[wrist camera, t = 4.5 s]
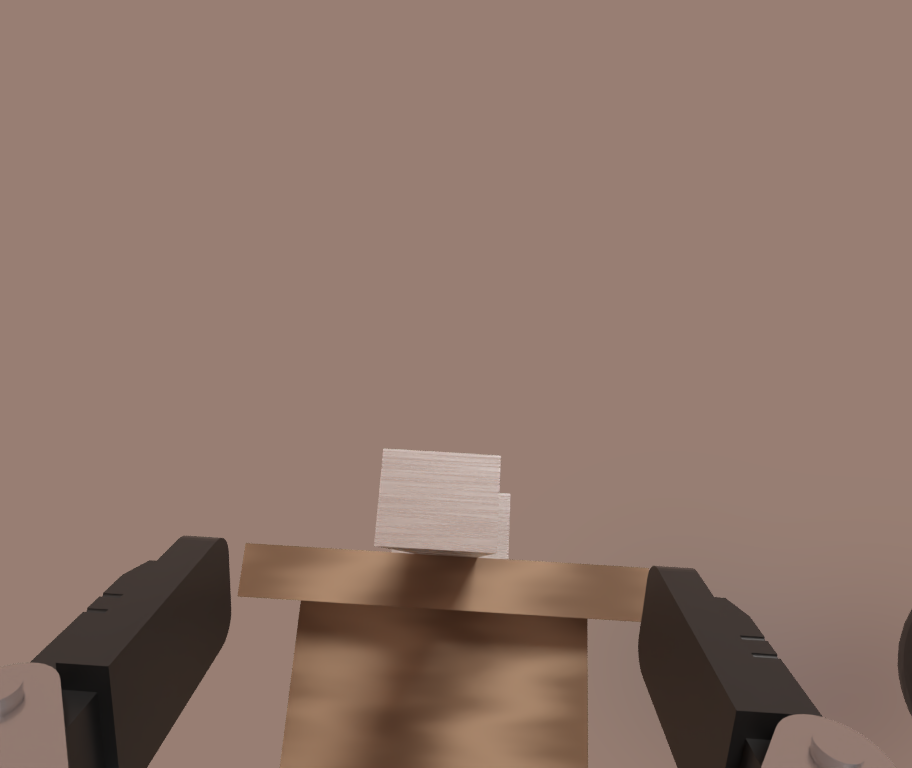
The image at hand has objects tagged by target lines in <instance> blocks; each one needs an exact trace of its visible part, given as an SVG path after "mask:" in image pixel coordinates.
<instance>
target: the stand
mask: <svg viewBox="0 0 912 768" xmlns="http://www.w3.org/2000/svg"><path fill="white" fill-rule="evenodd" d="M648 573H649V568H638V567H622V566H606V565H589V564H573V563H557V562H540V561H525V560H509V559H493V558H476V557H460V556H444V555H428V554H412V553H395V552H379V551H363V550H346V549H331V548H314V547H298V546H282V545H266V544H250V543H246V545H245V551H244V558H243V564H242V571H241V577H240V584H239V591H238V596H240V597H256V598H271V599H287V600H301V604H300V612H299V620H298V628H297V637H296V644H295V653H294V660H293V668H292V676H291V683H290V691H289V700H288V707H287V715H286V724H285V731H284V739H283V747H282V755H281V763H280V768H588V695H587V694H588V688H587V687H588V686H587V685H588V683H587V681H588V679H587V677H588V676H587V675H588V674H587V672H588V669H587V619H604V620H619V621H635V622H641V619H642V612H643V605H644V598H645V591H646V584H647V577H648Z"/></svg>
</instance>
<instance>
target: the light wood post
mask: <svg viewBox="0 0 912 768" xmlns="http://www.w3.org/2000/svg"><path fill="white" fill-rule="evenodd" d="M500 463H501V456H500V455H482V454H467V453H450V452H449V453H448V452H433V451H415V450H398V449H383V459H382V469H381V480H380V490H379V500H378V511H377V522H376V532H375V542H374V545H375V546H378V547H383V548H388V549H392V552H395V553H412V554H428V555H444V556H460V557H476V558H493V559H508V551H509V521H510V520H509V519H510V494H506V493H499V490H500Z"/></svg>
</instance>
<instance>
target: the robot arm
mask: <svg viewBox="0 0 912 768" xmlns="http://www.w3.org/2000/svg"><path fill="white" fill-rule="evenodd" d="M230 620H231V595H230V574H229V551H228V545H227V542H226V540H225V539H223V538H212V537H197V536H182V537H180V538H179V539H178V540H177V541H176V542H175V543H174V544H173V545H172V546H171V547H170V548H169V549H168V550H167V551H166V552H165V553H164V554H163V555H162V556H161V557H160V558H159V559H158V560H157V561H147V562H146V563H144V564H142V565H140V566H138V567H136V568H134V569H133V570H131V571H129V572H127V573H125V574H123V575H122V576H121V577H120V578H119V579H118V580H116V581H115V582H114V584H112V585H111V586H110V587H109V588H108V589H107V590H106V591H105V592H104V593H103V596H102V597H99V598H98V599H96V600H95V601H94V602H93V603H92V604H91V605H90V606H89V607H88V608H87V612H83V613H82V614H81V615H80V616H78V617H77V618H76V619H75V620H74V621H73V622H72V623H71V624H70V625H69V626H68V627H67V628H66V629H65V630H64V631H63V632H62V633H61V634H59V635H58V636H57V637H56V638H55V639H54V640H53V641H52V642H51V643H50V644H49V645H48V646H47V647H46V648H45V649H44V650H43V651H41V652H40V654H39V655H37V656H36V657H35V658H34V659H33V660H32V661H31V662H30V663H18V664H12V665H7V666H3V667H0V768H147V767H148V765H149V763H150V762H151V760H152V759H153V757H154V755H155V754H156V752H157V751H158V749H159V747H160V746H161V744H162V743H163V741H164V739H165V738H166V736H167V735H168V733H169V731H170V730H171V728H172V727H173V725H174V723H175V722H176V720H177V719H178V717H179V715H180V714H181V712H182V710H183V709H184V707H185V706H186V704H187V703H188V701H189V699H190V698H191V696H192V694H193V693H194V691H195V690H196V688H197V686H198V685H199V683H200V682H201V680H202V678H203V677H204V675H205V674H206V672H207V670H208V669H209V667H210V666H211V664H212V662H213V661H214V659H215V657H216V656H217V654H218V653H219V651H220V650H221V648H222V646H223V644H224V642H225V640H226V637H227V633H228V630H229V626H230ZM638 643H639V644H638V649H639V650H638V652H639V662H640V669H641V673H642V675H643V679H644V681H645V684H646V686H647V689H648V692H649V694H650V697H651V700H652V702H653V705H654V707H655V710H656V713H657V715H658V718H659V721H660V723H661V726H662V728H663V731H664V734H665V736H666V739H667V741H668V744H669V747H670V749H671V752H672V755H673V757H674V760H675V762H676V765H677V767H678V768H895V766H894V764H893V763H892V762H891V760H890V759H889V758H888V757H887V756H886V754H885V753H884V752H883V751H882V750H881V749H879V748H878V747H877V746H876V745H875V744H874V743H873V742H871V741H870V740H869V739H867V738H866V737H864V736H863V735H861V734H860V733H858V732H856V731H855V730H853V729H851V728H849V727H847V726H845V725H843V724H841V723H839V722H836V721H833V720H831V719H827V718H824V717H822V715H821V714H820V713H819V711H818V710H817V708H816V707H815V706H814V704H813V703H812V702H811V700H810V699H809V697H808V696H807V695H806V693H805V692H804V691H803V689H802V688H801V686H800V685H799V684H798V682H797V681H796V680H795V679H794V677H793V675H792V674H791V673H790V671H789V670H788V669H787V667H786V666H785V664H784V663H783V662H782V660H781V659H778V658H777V653H776V652H775V651H774V650H773V648H772V647H771V645H770V644H769V643H768V641H765V639H764V636H763V634H762V633H761V632H760V630H759V629H758V627H757V626H756V625H755V623H754V622H753V621H752V619H751V618H750V617H749V616H748V615H747V614H746V613H744V612H743V611H741V610H740V609H739V608H738V607H736V606H735V605H734V604H732V603H731V602H730V601H728V600H727V599H726V598H717V597H713V595H712V594H711V592H710V590H709V589H708V587H707V586H706V584H705V583H704V581H703V580H702V578H701V577H700V576H699V574H698V573H697V571H696V570H695V569H692V568H678V567H662V566H653V567H651V569H650V570H649V573H648V577H647V584H646V591H645V598H644V605H643V612H642V619H641V626H640V634H639V642H638ZM898 673H899V680H900V684H901V689H902V692H903V696H904V699H905V702H906V704H907V707H908V710H909V712H910V714H911V716H912V610H911V612H910V614H909V616H908V618H907V620H906V621H905V623H904V627H903V631H902V634H901V638H900V641H899V651H898Z"/></svg>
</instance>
